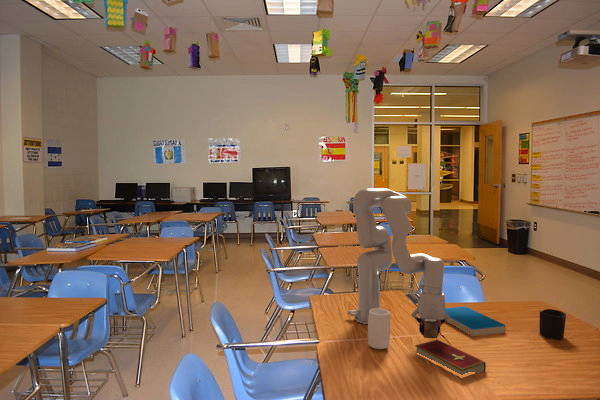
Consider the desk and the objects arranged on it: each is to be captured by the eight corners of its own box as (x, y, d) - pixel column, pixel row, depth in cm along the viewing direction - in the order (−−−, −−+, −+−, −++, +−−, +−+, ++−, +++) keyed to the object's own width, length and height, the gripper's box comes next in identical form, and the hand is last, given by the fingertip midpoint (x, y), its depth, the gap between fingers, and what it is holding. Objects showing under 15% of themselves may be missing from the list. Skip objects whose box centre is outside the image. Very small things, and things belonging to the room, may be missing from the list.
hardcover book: (437, 349, 160) (438, 338, 159) (485, 372, 141) (486, 360, 141) (414, 355, 154) (415, 344, 154) (461, 381, 136) (462, 368, 135)
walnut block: (424, 337, 161) (425, 322, 160) (421, 332, 166) (422, 318, 165) (437, 338, 161) (438, 323, 160) (433, 333, 166) (434, 318, 165)
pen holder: (568, 341, 168) (570, 317, 167) (543, 339, 170) (544, 315, 169) (559, 332, 177) (560, 309, 176) (535, 330, 179) (536, 307, 178)
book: (473, 328, 171) (435, 308, 194) (472, 339, 171) (435, 317, 195) (506, 324, 176) (466, 305, 200) (505, 334, 176) (465, 313, 200)
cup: (373, 353, 154) (374, 316, 153) (363, 344, 162) (364, 308, 161) (393, 351, 156) (394, 314, 155) (383, 342, 165) (384, 307, 164)
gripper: (412, 291, 158) (409, 336, 160) (457, 293, 157) (454, 339, 159) (408, 285, 166) (405, 329, 168) (451, 287, 165) (448, 331, 167)
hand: (429, 333), depth 163 cm, fingers closed on walnut block, 5 cm apart
